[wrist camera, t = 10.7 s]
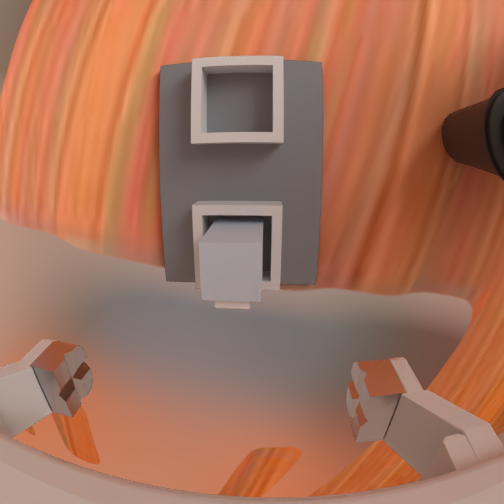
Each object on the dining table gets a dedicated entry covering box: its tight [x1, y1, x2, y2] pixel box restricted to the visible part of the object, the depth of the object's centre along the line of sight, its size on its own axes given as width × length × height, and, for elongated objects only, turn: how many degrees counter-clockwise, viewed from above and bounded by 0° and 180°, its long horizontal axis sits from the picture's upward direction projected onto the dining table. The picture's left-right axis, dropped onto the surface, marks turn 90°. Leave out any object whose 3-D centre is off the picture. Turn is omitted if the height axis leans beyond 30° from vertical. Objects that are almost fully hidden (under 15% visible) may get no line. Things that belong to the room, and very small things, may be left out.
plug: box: [199, 218, 263, 309], centre depth 25 cm, size 4×5×8 cm
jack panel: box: [159, 56, 323, 291], centre depth 26 cm, size 14×20×4 cm
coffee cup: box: [442, 88, 504, 180], centre depth 20 cm, size 8×8×10 cm
